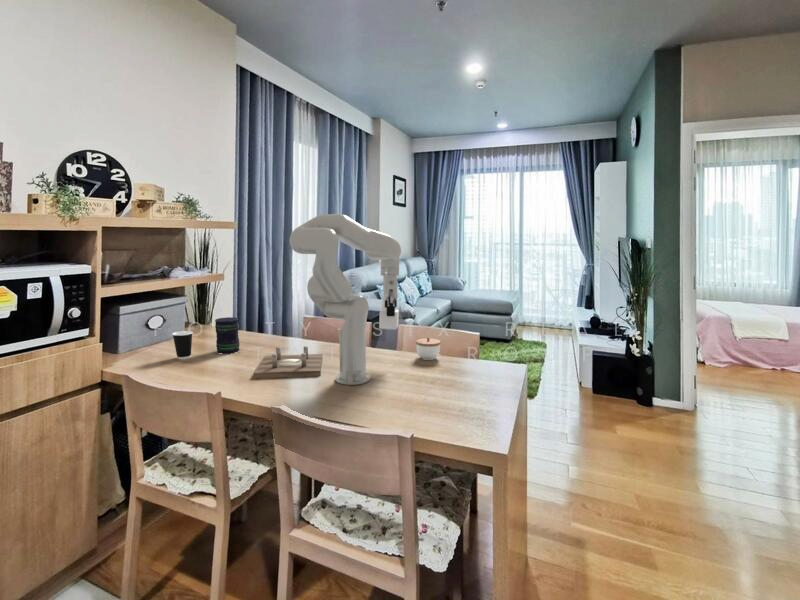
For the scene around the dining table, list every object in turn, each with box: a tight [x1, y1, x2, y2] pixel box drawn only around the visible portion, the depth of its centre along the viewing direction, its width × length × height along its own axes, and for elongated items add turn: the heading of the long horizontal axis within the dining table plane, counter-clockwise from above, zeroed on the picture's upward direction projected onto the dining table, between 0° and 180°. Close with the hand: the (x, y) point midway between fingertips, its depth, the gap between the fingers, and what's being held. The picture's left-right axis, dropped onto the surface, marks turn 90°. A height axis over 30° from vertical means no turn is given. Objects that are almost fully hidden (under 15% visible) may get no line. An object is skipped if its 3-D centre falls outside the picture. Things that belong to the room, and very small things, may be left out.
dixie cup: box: [171, 330, 194, 360], centre depth 181 cm, size 8×8×11 cm
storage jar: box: [214, 316, 240, 355], centre depth 192 cm, size 10×10×15 cm
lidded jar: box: [415, 336, 442, 361], centre depth 184 cm, size 11×11×9 cm
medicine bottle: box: [378, 298, 400, 330], centre depth 173 cm, size 7×7×12 cm
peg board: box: [253, 345, 323, 379], centre depth 168 cm, size 24×24×7 cm
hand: (389, 314), depth 173 cm, fingers closed on medicine bottle, 8 cm apart
